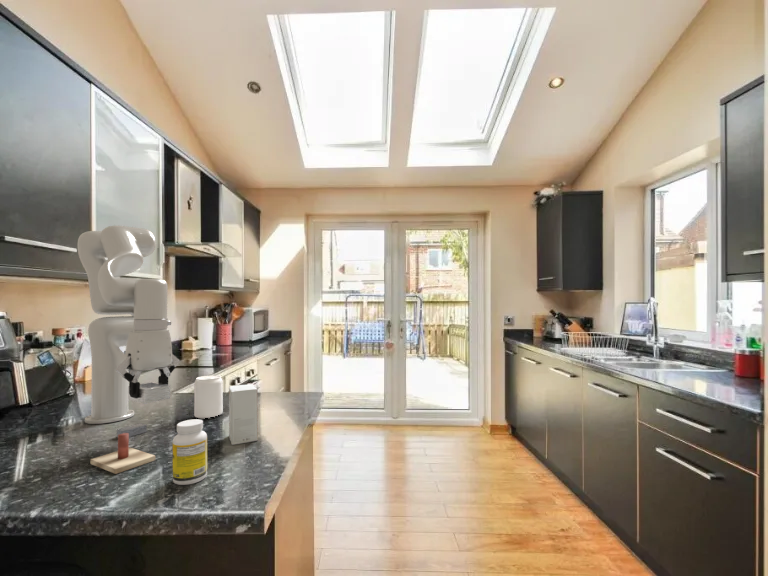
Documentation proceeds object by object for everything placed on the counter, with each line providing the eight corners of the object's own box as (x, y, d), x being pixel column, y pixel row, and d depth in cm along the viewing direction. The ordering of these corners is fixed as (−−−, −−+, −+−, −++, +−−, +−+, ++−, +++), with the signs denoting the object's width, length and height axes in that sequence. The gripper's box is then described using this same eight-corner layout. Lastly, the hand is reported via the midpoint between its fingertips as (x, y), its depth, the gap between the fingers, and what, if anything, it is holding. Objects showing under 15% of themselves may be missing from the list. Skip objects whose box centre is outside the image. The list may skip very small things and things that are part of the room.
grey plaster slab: (117, 436, 103) (117, 429, 103) (140, 430, 108) (140, 423, 108) (122, 438, 101) (122, 431, 102) (146, 432, 107) (146, 424, 107)
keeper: (90, 463, 85) (90, 436, 86) (129, 451, 92) (129, 426, 92) (115, 474, 80) (116, 444, 80) (155, 460, 87) (155, 432, 87)
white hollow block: (128, 399, 101) (128, 385, 101) (153, 393, 106) (153, 381, 106) (144, 404, 96) (145, 389, 97) (170, 398, 102) (170, 384, 102)
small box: (258, 441, 98) (257, 388, 98) (231, 445, 95) (231, 391, 95) (253, 431, 105) (253, 383, 105) (228, 435, 102) (228, 385, 103)
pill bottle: (180, 473, 80) (180, 418, 80) (211, 471, 80) (211, 417, 81) (166, 487, 73) (166, 428, 74) (200, 485, 74) (200, 426, 74)
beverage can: (212, 420, 117) (211, 380, 117) (188, 419, 118) (188, 379, 119) (228, 412, 125) (227, 375, 125) (205, 411, 126) (205, 374, 127)
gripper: (174, 323, 111) (173, 385, 111) (106, 327, 96) (104, 399, 96) (190, 324, 107) (189, 389, 107) (121, 329, 92) (120, 404, 92)
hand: (149, 393), depth 101 cm, fingers closed on white hollow block, 6 cm apart
